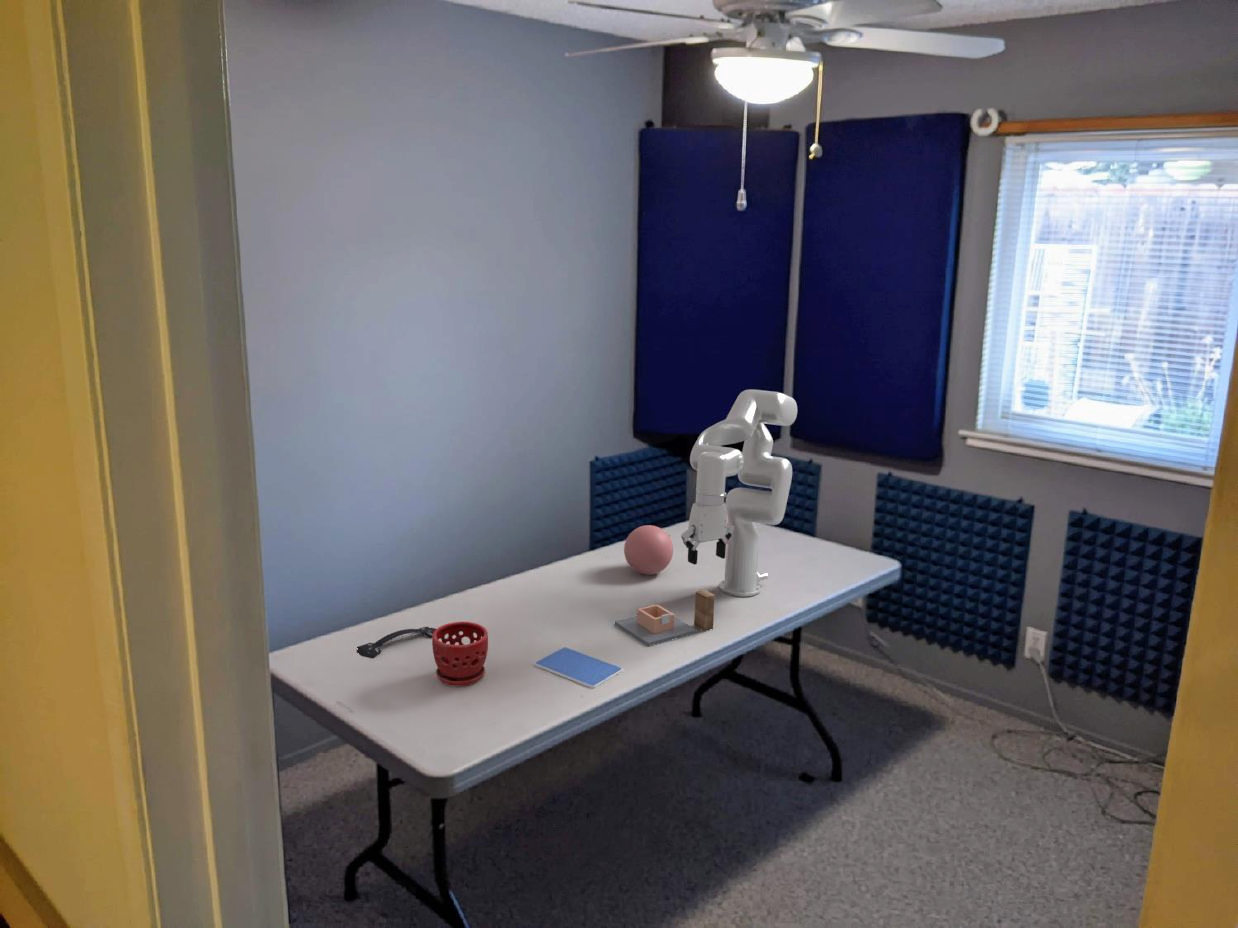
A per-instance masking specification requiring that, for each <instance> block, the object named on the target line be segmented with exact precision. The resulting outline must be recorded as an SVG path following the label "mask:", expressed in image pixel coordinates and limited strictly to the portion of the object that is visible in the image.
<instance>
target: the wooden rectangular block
mask: <svg viewBox="0 0 1238 928" xmlns="http://www.w3.org/2000/svg"><path fill="white" fill-rule="evenodd" d="M715 598H716V595H715V594H714V593H711V592H710V591H709V590H706V589H700V590H697V591H695V600H694V601H695V603H694V617H693V618H694V621H693V622H694V623H693V626H694V627H695V628H697V629H699V630H701V629H702V630H701V631H703V632H707V630H708V631H711V630H710V629H712V630H714V621H715V620H714V617H715V600H716V599H715Z"/></svg>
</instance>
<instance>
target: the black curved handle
mask: <svg viewBox="0 0 1238 928" xmlns="http://www.w3.org/2000/svg"><path fill="white" fill-rule="evenodd" d="M429 627H430V626H423V627H419V628H407V629H405V628H404V629H400V630H397V631H394V632H391V633H389V634H387V635H385V636H382V637H381V638H379V639H378V640H376V641H375V642H368V643H365V644H361V645H358V646H356V647H357V648H358V650H357V649H356V653H357V654H358V653H359V654H358V655H359V656H360V657H364V658H367V659H374V658H376V657H377V656H378V655H380V654H381V652H382V650H381V648H380V647H381V646H384V645H388V644H391V643H392V644H393V643H395V642H398V641H402V640H405V639H406V636H407V639H409V638H411V637H412V638H413V637H416V636H418V635H422V634H423V635H424V636H425V637H427V638H429V639H432V635H433V633H434V631H435V630H436V629H437V628H435V627H431V628H429ZM418 633H419V634H418ZM413 634H414V635H413ZM403 637H405V638H403ZM400 638H401V639H400ZM396 639H398V640H396ZM393 640H394V641H393ZM395 640H396V641H395ZM387 642H389V643H387Z"/></svg>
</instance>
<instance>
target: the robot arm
mask: <svg viewBox="0 0 1238 928" xmlns="http://www.w3.org/2000/svg"><path fill="white" fill-rule="evenodd" d="M797 415H798V405H797V402H796V400H795V399H794V398H793V397H792V396H789V395H787V394H786V393H782V392H779V391H771V390H770V391H769V390H761V389H745V390H743V391H741V392H740V393H739V395H738V396H737V398H736V400H735V401H734V403H733V405H732V406H731V409H730V411H729V412H728V414H727V415H726V418H725V419H723V420H721V421H719V422H717V423H715V424H713V425H712V426H711V425H710V426H709V427H707V428H706V429H704V431H702V432H701V433H700V434H699V436H698V437H697V440H696V441H695V443H694V445H693V447H692V449H691V452H690V456H689V462H690V465H691V467H692V469H693V470H695V471H696V486H695V487H696V489H695V502H694V503H692V507H691V511H690V514H689V520H688V529H687V530H685V531H684V532H682V533H681V535H680V537H681V539H682V543H683V544H684V545H685V547H686V548H687V562H688V563H690V564H692V565H697V564H698V555H699V553H698V552H699V551H698V550H697V548H698V546H699V545H700V544H701V543H707V542H712V541H716V544H715V545H716V546H715V547H716V548H715V556H716V557H718V558H721V559H722V560H723V559H725V562H724V563H725V565H724V580H721V581H720V582H719V584H718V589H719V590H720V591H721V592H722V593H724V594H727V595H729V596H734V597H743V598H745V597H752V596H756V595H758V594H759V593H761V592H762V586H761V585H760V582H761V581H764V580H767V579H768V578H769V575H768V572H767V573H766V572H763V573H759V572H758V558H759V542H760V535H759V530H758V528H757V526H756V524H755V523H757V524H764V525H772V526H775V525H779V524H780V523H781V522H782V521H783V519H784V517H785V513H786V508H787V503H788V498H789V494H790V488H791V485H792V478H793V467H792V463H791V462H790V460H788V459H787V458H785V457H780V456H772V450H773V447H774V446H773V445H774V440H773V437H772V434H771V433H770V430H769V429H768V428H767V426H766V425H765V424H767V425H772V426H773V425H774V426H782V427H783V426H784V427H789V426H791V425H793V424H794V423H795V421H796V419H797V417H798V416H797ZM741 442H744V443H743V447H742V451H740V450H739V449H738V448H733V447H726V445H732V444H738V443H741ZM736 475H737V477H738V480H739V482H740V483H742V484H744V485H747V486H752V487H758V488H765V489H771V491H769V490H768V491H767V490H760V489H757V488H756V489H755V488H747V487H735V488H733V489H731V490H729V492H726V491H725V490H726V479H727V478H728V477H733V476H736ZM717 540H718V541H717Z"/></svg>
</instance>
